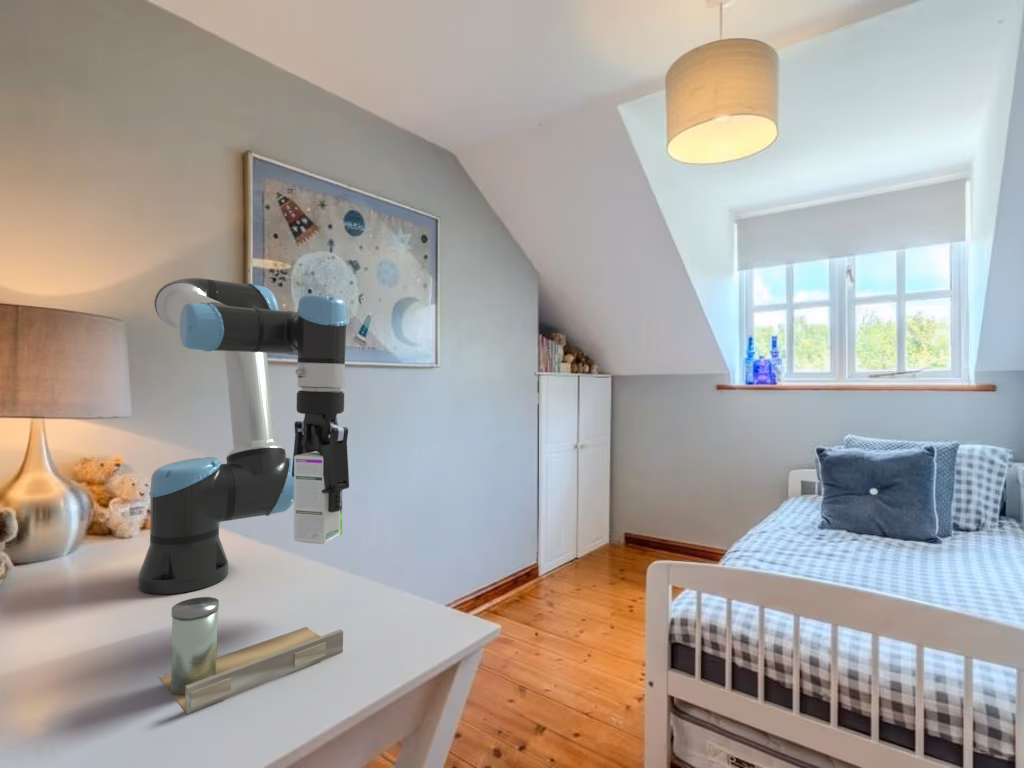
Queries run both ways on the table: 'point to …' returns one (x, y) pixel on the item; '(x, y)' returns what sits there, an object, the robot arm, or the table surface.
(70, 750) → the table surface
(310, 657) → the shelf board
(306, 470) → the syrup box
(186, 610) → the sage tin
